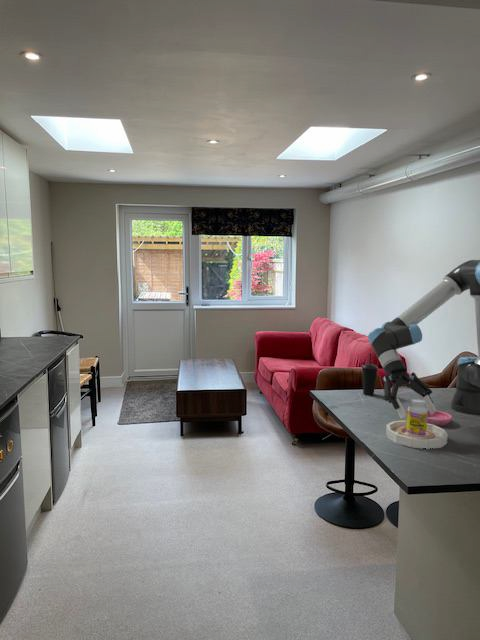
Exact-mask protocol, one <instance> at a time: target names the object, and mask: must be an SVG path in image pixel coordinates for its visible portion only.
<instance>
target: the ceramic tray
mask: <svg viewBox="0 0 480 640" xmlns="http://www.w3.org/2000/svg"><path fill="white" fill-rule="evenodd" d="M385 427H386V428H385V434H386V437H387V439H389V440H391V441H392V442H394V444H395V443H396V444H398V445H401V446H405V447H409V448H415V449H423V448H426V449H425V450H431V449H432V448H433V449H440V448H443V447H444V446H445V445H447V444H448V433H447V431H446V429H444V428H441V427H440V426H436V425H433V424H428V423H427V427H426V435H425V436H424V437H415V436H410V435H408V434H407V433H406V427H407V419H404V420H403V419H401V420H392V421H391V422H389V423H387V424H386V425H385ZM430 448H431V449H430Z"/></svg>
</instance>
